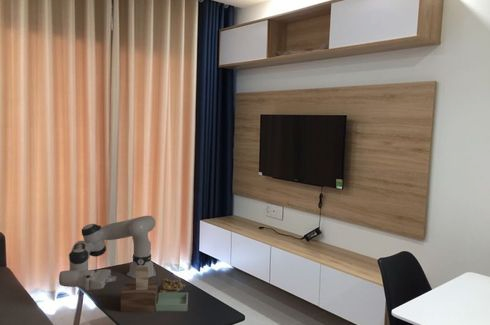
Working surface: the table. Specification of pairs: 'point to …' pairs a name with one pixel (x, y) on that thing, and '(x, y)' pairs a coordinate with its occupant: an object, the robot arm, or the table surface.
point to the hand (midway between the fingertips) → (116, 278)
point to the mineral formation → (171, 286)
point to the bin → (172, 302)
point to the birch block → (142, 277)
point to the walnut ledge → (139, 298)
